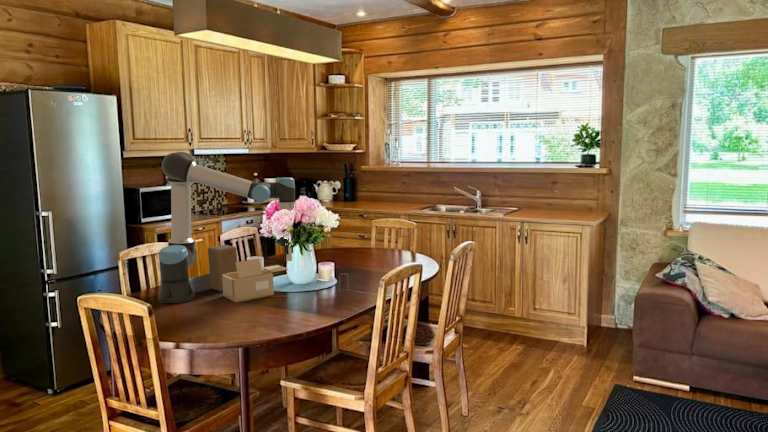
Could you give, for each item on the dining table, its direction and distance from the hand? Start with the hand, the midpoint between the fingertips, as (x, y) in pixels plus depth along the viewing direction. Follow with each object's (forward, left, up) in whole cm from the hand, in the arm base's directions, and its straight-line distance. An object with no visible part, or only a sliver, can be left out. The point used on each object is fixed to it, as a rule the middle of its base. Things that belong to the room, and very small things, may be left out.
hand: (289, 260), depth 274 cm
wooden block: (-25, +19, -13) cm, 34 cm away
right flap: (-8, -1, -2) cm, 8 cm away
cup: (-6, +28, -13) cm, 31 cm away
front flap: (-23, -7, +1) cm, 24 cm away
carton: (-22, -1, -13) cm, 25 cm away
